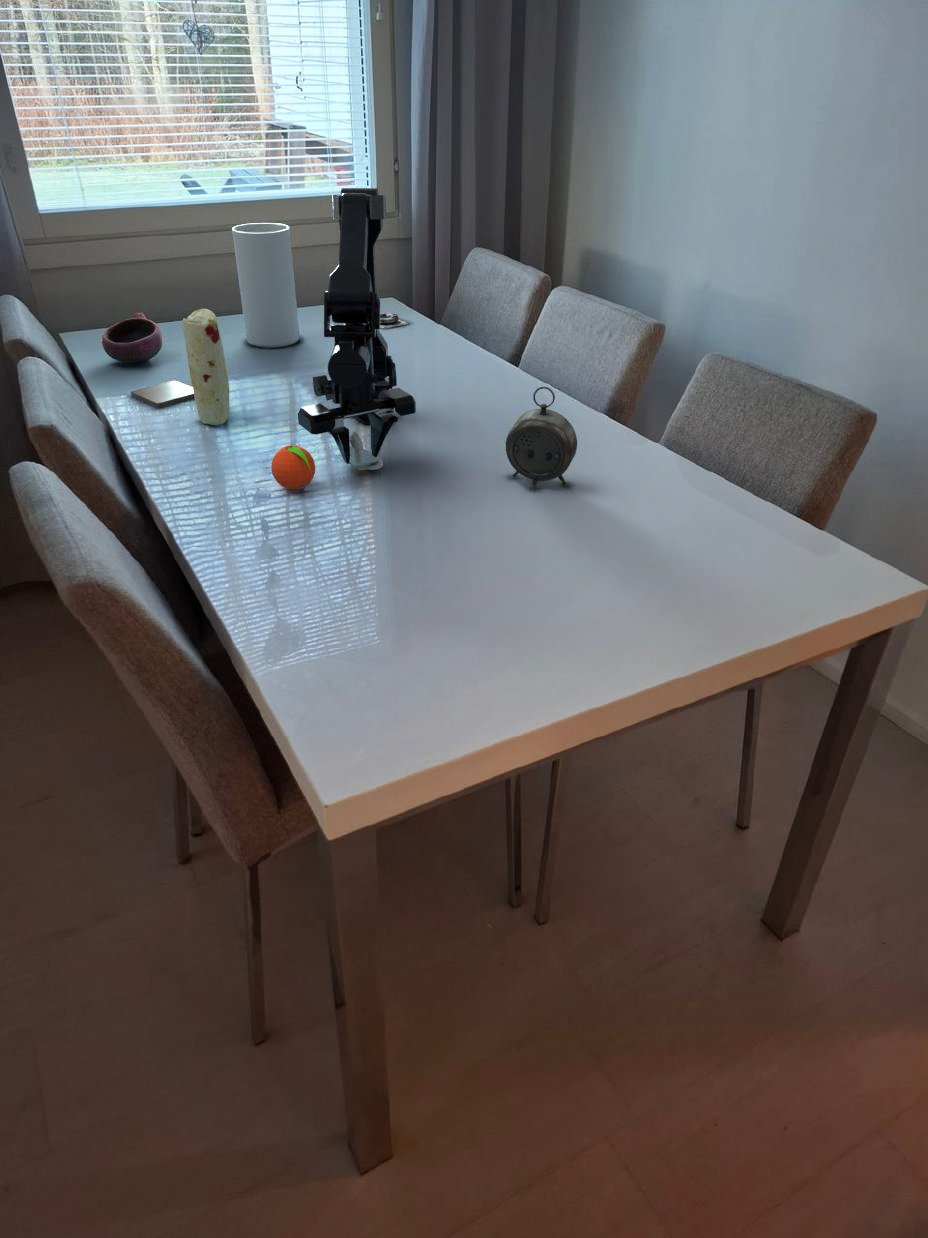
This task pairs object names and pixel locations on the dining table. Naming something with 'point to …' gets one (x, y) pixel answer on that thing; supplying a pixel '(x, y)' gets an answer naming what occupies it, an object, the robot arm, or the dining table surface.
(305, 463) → the clementine
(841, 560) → the dining table surface
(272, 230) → the cylinder vase
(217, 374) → the food model
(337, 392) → the robot arm
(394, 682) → the dining table surface
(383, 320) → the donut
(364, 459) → the pacifier
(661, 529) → the dining table surface
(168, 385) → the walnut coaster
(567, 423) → the alarm clock
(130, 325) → the bowl
